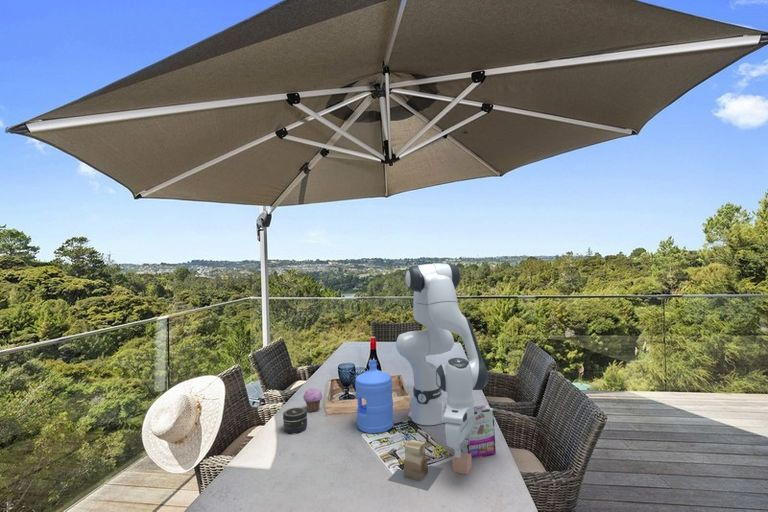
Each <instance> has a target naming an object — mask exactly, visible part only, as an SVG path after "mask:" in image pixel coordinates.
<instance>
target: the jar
mask: <svg viewBox="0 0 768 512" xmlns="http://www.w3.org/2000/svg"><path fill="white" fill-rule="evenodd" d="M282 420H283V429H284V432H285V433H287V432H288V433H287V434H289V433H296V434H300V433H303V432H304V431H306V429H307V426H308V411H307V409H306V408H303V407H293V408H288V409H286V410H284V412H283V413H282Z"/></svg>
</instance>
